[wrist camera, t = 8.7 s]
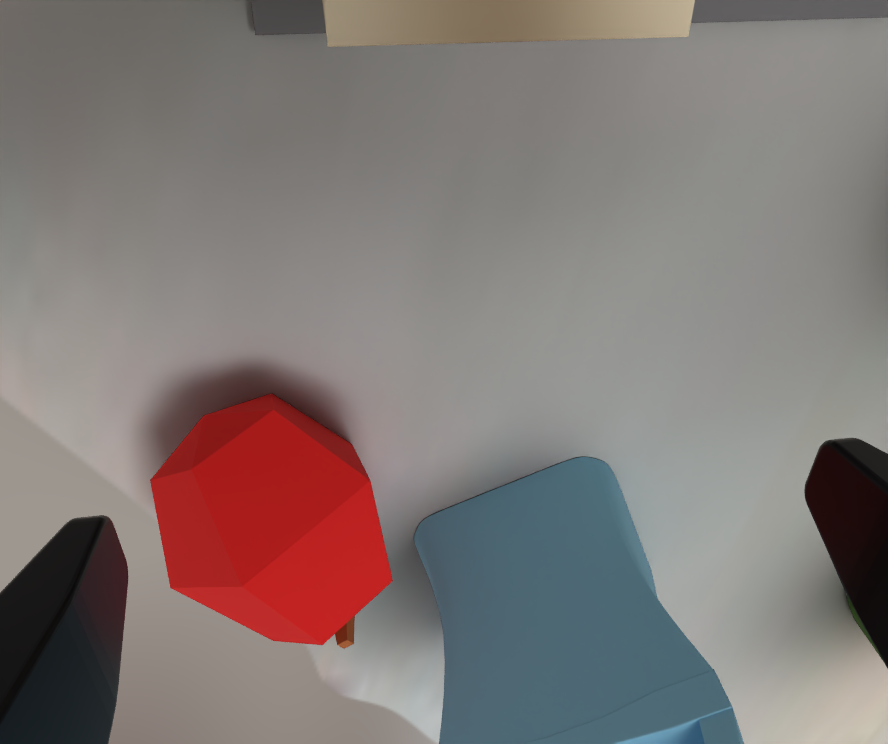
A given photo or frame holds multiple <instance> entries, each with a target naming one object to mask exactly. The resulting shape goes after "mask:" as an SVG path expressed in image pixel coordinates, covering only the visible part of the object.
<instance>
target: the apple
mask: <svg viewBox="0 0 888 744" xmlns="http://www.w3.org/2000/svg"><path fill="white" fill-rule="evenodd" d="M150 481H151V487H152V492H153V497H154V503H155V508H156V513H157V519H158V524H159V529H160V534H161V540H162V545H163V550H164V555H165V561H166V566H167V572H168V577H169V582H170V587H171V588H172V589H174V590H176V591H178V592H180V593H182V594H184V595H186V596H187V597H190V598H191V599H193V600H195V601H197V602H199V603H201V604H203V605H205V606H207V607H209V608H211V609H213V610H215V611H216V612H218V613H221V614H222V615H224V616H226V617H228V618H230V619H232V620H234V621H236V622H238V623H240V624H242V625H244V626H246V627H248V628H250V629H251V630H253V631H255V632H257V633H259V634H261V635H263V636H265V637H267V638H269V639H271V640H273V641H281V642H294V643H305V644H317V645H323V644H324V643H325V642H326V641H327V640H328V639H330V638H331V637H332V636H333V635H334V634H335V636H336V641H337V645H339V646H340V647H342V648H346V647H348V646H350V645H352V644H354V618H355V615H356V614H357V613H358V612H359V611H360V610H361V609H362V608H363V607H365V606H366V605H367V604H368V603H369V602H370V601H371V600H372V599H373V598H374V597H376V596H377V595H378V594H379V593H380V592H381V591H382V590H383V589H384V588H385V587H386V586H388V585H389V584H390V583H391V582H392V581H393V580H392V575H391V571H390V567H389V562H388V558H387V553H386V549H385V544H384V540H383V535H382V531H381V526H380V522H379V517H378V513H377V508H376V504H375V500H374V495H373V491H372V486H371V482H370V479H369V477H368V475H367V473H366V471H365V469H364V467H363V465H362V463H361V461H360V459H359V457H358V455H357V453H356V451H355V449H354V447H353V445H352V444H351V443H349V442H348V441H346V440H344V439H343V438H341V437H340V436H338V435H337V434H335V433H333V432H332V431H330V430H329V429H327V428H326V427H324V426H322V425H321V424H319V423H318V422H316V421H315V420H313V419H311V418H310V417H308V416H307V415H305V414H303V413H302V412H300V411H299V410H297V409H296V408H294V407H292V406H291V405H289V404H288V403H286V402H285V401H283V400H281V399H280V398H278V397H277V396H275V395H274V394H268V395H265V396H262V397H259V398H256V399H253V400H250V401H247V402H244V403H241V404H238V405H234V406H231V407H228V408H225V409H222V410H219V411H216V412H213V413H210V414H207V415H204V416H203V417H202V418H201V419H200V421H199V422H198V423H197V424H196V425H195V427H194V428H193V429H192V430H191V431H190V433H189V434H188V435H187V436H186V438H185V439H184V440H183V441H182V442H181V444H180V445H179V446H178V447H177V448H176V450H175V451H174V452H173V453H172V455H171V456H170V457H169V458H168V459H167V461H166V462H165V463H164V464H163V465H162V467H161V468H160V469H159V470H158V472H157V473H156V474H155V475H154V476H153V478H152V479H151V480H150Z"/></svg>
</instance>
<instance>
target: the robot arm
mask: <svg viewBox="0 0 888 744" xmlns="http://www.w3.org/2000/svg"><path fill="white" fill-rule="evenodd" d="M805 499H806V502H807V505H808V508H809V510H810V512H811V514H812V517H813V519H814V521H815V523H816V526H817V528H818V530H819V533H820V535H821V537H822V539H823V542H824V544H825V546H826V548H827V551H828V553H829V555H830V558H831V560H832V562H833V564H834V567H835V569H836V571H837V573H838V576H839V578H840V580H841V583H842V585H843V587H844V589H845V591H846V593H847V596H848V598H849V600H850V602H851V604H852V606H853V608H854V610H855V611H856V613H857V615H858V617H859V619H860V621H861V623H862V624H863V626H864V628H865V630H866V631H867V633H868V635H869V637H870V638H871V640H872V642H873V644H874V645H875V647H876V649H877V651H878V652H879V654H880V656H881V658H882V659H883V661H884V663H885V665H886V667H887V668H888V454H887V453H885V452H883V451H881V450H879V449H877V448H875V447H874V446H872V445H870V444H868V443H866V442H864V441H862V440H860V439H857V438H844V439H834V440H828V441H825V442H824V443H823V444H822V445H821V446H820V448H819V450H818V452H817V455H816V458H815V460H814V463H813V465H812V468H811V471H810V473H809V476H808V478H807V481H806V484H805ZM127 587H128V567H127V562H126V559H125V556H124V553H123V550H122V547H121V544H120V542H119V539H118V536H117V533H116V530H115V528H114V525H113V523H112V521H111V520H110V518H109V517H107V516H103V515H100V516H92V517H81V518H74V519H72V520H70V521H69V522H67V523H66V524H65V525H64V526H63V527H62V528H61V529H60V530H59V531H58V533H56V535H55V536H54V537H53V538H52V539H51V540H50V541H49V542H48V543H47V544H46V545H45V546H44V547H43V548H42V549H41V550H40V552H38V554H37V555H36V556H35V557H34V558H33V559H32V560H31V561H30V562H29V563H28V564H27V565H26V566H25V567H24V569H22V570H21V572H19V574H18V575H17V576H16V577H15V578H14V579H13V580H12V581H11V582H10V583H9V584H8V585H7V586H6V587H5V589H3V590H2V591H1V593H0V744H108V742H109V737H110V732H111V728H112V723H113V718H114V713H115V707H116V701H117V693H118V684H119V673H120V661H121V652H122V641H123V630H124V620H125V609H126V598H127Z"/></svg>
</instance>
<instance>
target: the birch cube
mask: <svg viewBox="0 0 888 744" xmlns="http://www.w3.org/2000/svg"><path fill="white" fill-rule="evenodd" d="M322 2H323V11H324V19H325V27H326V35H327V43H328V47H340V46H376V45H412V44H448V43H484V42H520V41H556V40H592V39H628V38H664V37H688V36H689V30H690V25H691V19H692V14H693V8H694V3H695V0H322Z"/></svg>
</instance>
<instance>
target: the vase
mask: <svg viewBox="0 0 888 744" xmlns="http://www.w3.org/2000/svg"><path fill="white" fill-rule="evenodd" d="M414 541H415V545H416V548H417V550H418V553H419V555H420V558H421V560H422V562H423V565H424V567H425V570H426V572H427V575H428V577H429V580H430V583H431V586H432V588H433V591H434V595H435V598H436V601H437V605H438V608H439V612H440V617H441V622H442V627H443V634H444V654H445V675H444V699H443V711H442V723H441V732H440V741H439V744H744V742H743V739H742V736H741V732H740V729H739V726H738V723H737V720H736V717H735V714H734V711H733V708H732V705H731V703H730V701H729V699H728V697H727V695H726V693H725V691H724V689H723V687H722V685H721V683H720V681H719V679H718V677H717V675H716V673H715V671H714V669H712V668H711V666H710V665H709V664H708V663H707V661H706V660H705V659H704V658H703V657H702V655H701V654H700V653H699V652H698V651H697V649H696V648H695V647H694V646H693V644H692V643H691V642H690V641H689V640H688V638H687V637H686V636H685V635H684V634H683V632H682V631H681V630H680V628H679V627H678V626H677V625H676V623H675V622H674V621H673V619H672V618H671V617H670V616H669V614H668V613H667V612H666V610H665V609H664V608H663V606H662V605H661V603H660V602H659V600H658V599H657V594H656V590H655V585H654V580H653V576H652V571H651V569H650V566H649V563H648V561H647V558H646V555H645V553H644V550H643V547H642V545H641V542H640V539H639V537H638V534H637V531H636V529H635V526H634V523H633V521H632V518H631V515H630V513H629V510H628V507H627V504H626V502H625V499H624V496H623V494H622V491H621V489H620V486H619V484H618V481H617V479H616V477H615V475H614V473H613V471H612V469H611V468H610V467H609V466H608V464H606V463H605V462H604V461H601V460H598V459H594V458H590V457H579V458H575V459H571V460H568V461H565V462H562V463H560V464H557V465H554V466H552V467H549V468H547V469H544V470H542V471H539V472H537V473H534V474H532V475H529V476H527V477H524V478H522V479H519V480H517V481H514V482H512V483H509V484H507V485H504V486H502V487H499V488H497V489H494V490H492V491H489V492H487V493H484V494H482V495H479V496H477V497H474V498H472V499H469V500H467V501H464V502H462V503H459V504H457V505H454V506H452V507H449V508H447V509H444V510H442V511H440V512H437V513H435V514H433V515H431V516H429V517H427V518H425V519H424V520H423V521H422V522H421V523H420V524H419V526H418V528H417V530H416V533H415V536H414Z"/></svg>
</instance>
